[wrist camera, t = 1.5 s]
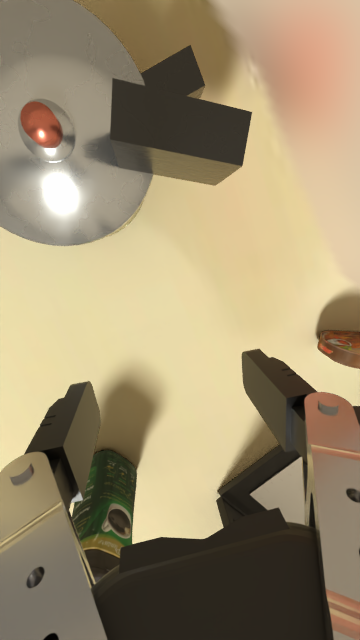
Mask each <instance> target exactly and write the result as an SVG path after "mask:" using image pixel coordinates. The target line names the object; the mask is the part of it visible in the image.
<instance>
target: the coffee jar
mask: <svg viewBox="0 0 360 640" xmlns="http://www.w3.org/2000/svg"><path fill="white" fill-rule="evenodd" d="M136 479H137V471H136V469H135V467H134V466H133V465H132V464H131V463H130V462H129V461H128V460H127V459H125V458H124V457H122V456H121V455H119V454H117V453H116V452H114V451H111V450H104V451H100V452H98V453H96V454H94V455H93V459H92V463H91V468H90V472H89V476H88V481H87V485H86V490H85V494H84V498H83V500H81V501H77V502H75V503H74V509H73V515H72V519H73V522H74V525H75V528H76V530H77V533H78V536H79V539H80V542H81V544H82V547H83V550H84V553H85V555H86V558H87V561H88V564H89V567H90V569H91V572H92V575H93V577H94V580H95V582H98V581H99V580H100V579H101V578H102V577H103V576H104V575H105V574H107V573H108V572H109V571H111V570H112V569H113V568H115V567H116V566H118V565H119V563H120V549H121V547H124V546H128V545H132V526H133V512H134V500H135V491H136Z"/></svg>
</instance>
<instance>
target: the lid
mask: <svg viewBox="0 0 360 640" xmlns="http://www.w3.org/2000/svg"><path fill="white" fill-rule="evenodd" d="M251 115H252V112H250V111H246V110H241V109H237V108H233V107H229V106H225V105H221V104H217V103H213V102H209V101H205V100H201V99H197V98H193V97H189V96H185V95H180V94H176V93H172V92H168V91H164V90H160V89H156V88H152V87H148V86H145V83H144V81H143V78H142V76H141V74H140V72H139V70H138V68H137V66H136V65H135V63H134V61H133V59H132V57H131V56H130V54H129V53H128V52H127V50H126V49H125V47H124V46H123V44H122V43H121V42H120V40H119V39H118V38H117V37H116V36H115V35H114V34H113V32H112V31H111V30H110V29H109V28H108V27H107V26H106V25H105V24H104V23H103V22H102V21H101V20H99V19H98V18H97V17H96V16H95V15H94V14H92V13H91V12H90V11H88V10H87V9H85V8H84V7H83V6H81V5H80V4H78V3H77V2H75V1H73V0H0V226H1V227H2V228H4V229H6V230H8V231H9V232H11V233H13V234H16V235H18V236H20V237H22V238H25V239H28V240H31V241H34V242H38V243H43V244H48V245H57V246H71V245H81V244H86V243H91V242H94V241H97V240H100V239H102V238H104V237H106V236H108V235H110V234H112V233H114V232H115V231H116V230H118V229H119V228H121V227H122V226H123V225H124V224H125V223H126V222H127V221H128V220H129V219H130V218H131V217H132V216H133V215H134V214H135V212H136V211H137V210H138V208H139V207H140V205H141V203H142V202H143V200H144V198H145V196H146V194H147V191H148V189H149V187H150V184H151V180H152V177H153V174H155V175H160V176H166V177H171V178H177V179H182V180H187V181H193V182H198V183H204V184H209V185H217V184H218V183H220V182H221V181H222V180H224V179H225V178H227V177H228V176H229V175H231V174H232V173H233V172H235V171H236V170H238V169H239V168H240V167H242V165H243V159H244V154H245V148H246V143H247V137H248V132H249V126H250V120H251Z"/></svg>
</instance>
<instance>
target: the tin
mask: <svg viewBox="0 0 360 640" xmlns="http://www.w3.org/2000/svg"><path fill="white" fill-rule="evenodd" d="M317 347H318V350H320V351H321V352H322V353H323V354H325V355H326V356H328V357H329V358H330V359H332V360H333V361H335V362H338V363H340V364H343V365H346V366H349V367H353V368H359V369H360V332H352V331H323V332H321V334H320V339H319V342H318V346H317Z"/></svg>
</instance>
